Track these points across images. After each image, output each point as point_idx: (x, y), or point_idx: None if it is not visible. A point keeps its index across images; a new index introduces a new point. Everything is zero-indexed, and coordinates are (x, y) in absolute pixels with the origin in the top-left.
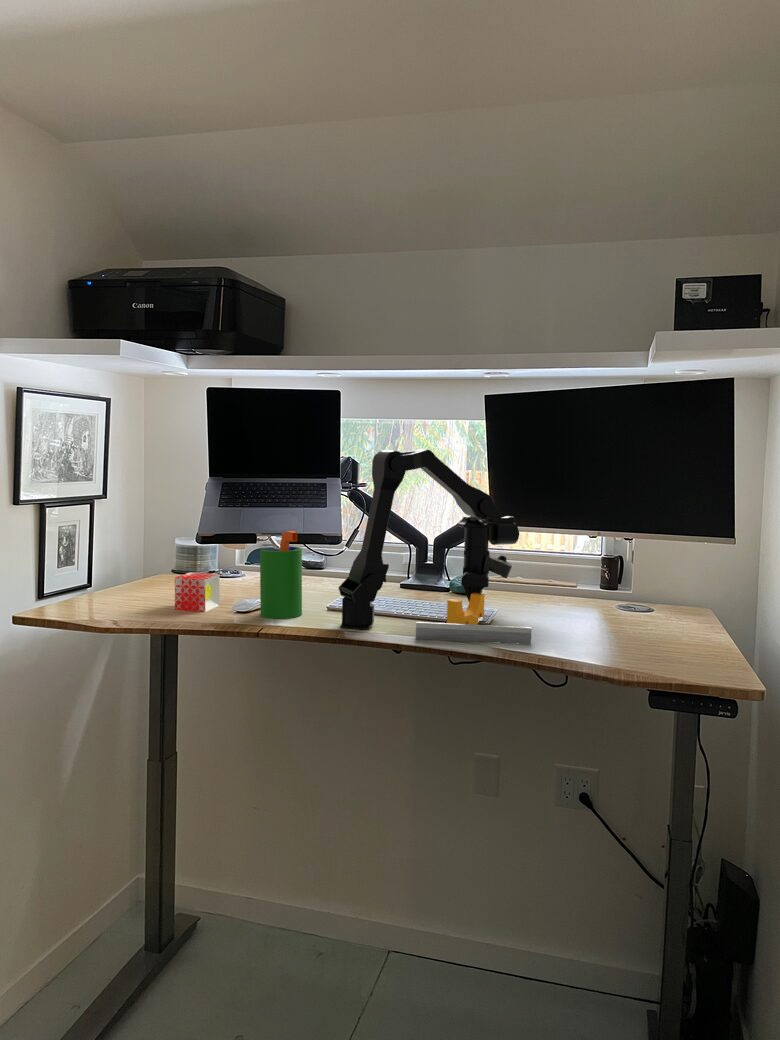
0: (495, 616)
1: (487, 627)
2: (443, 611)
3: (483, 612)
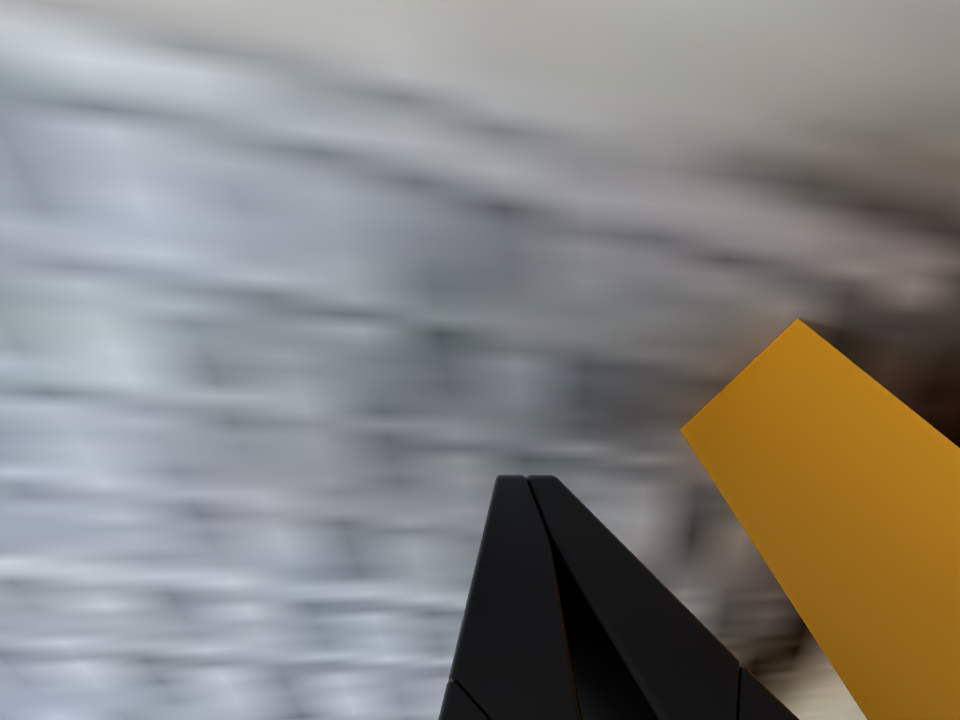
0: (503, 85)
1: None
2: (297, 698)
3: (891, 395)
